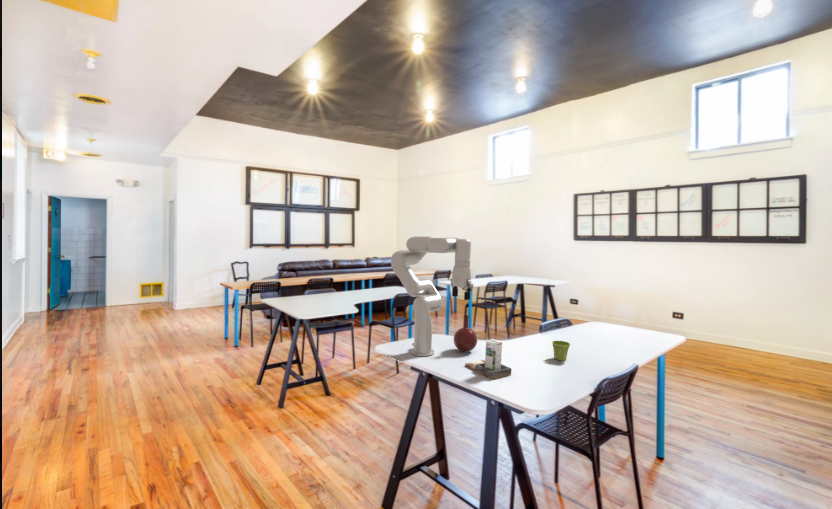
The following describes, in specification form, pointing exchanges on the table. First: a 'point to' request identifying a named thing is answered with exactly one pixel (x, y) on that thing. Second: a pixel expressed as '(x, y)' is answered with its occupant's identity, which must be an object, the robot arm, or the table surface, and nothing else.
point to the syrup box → (493, 355)
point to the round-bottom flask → (465, 337)
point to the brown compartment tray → (480, 368)
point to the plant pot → (560, 349)
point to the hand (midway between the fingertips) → (460, 298)
